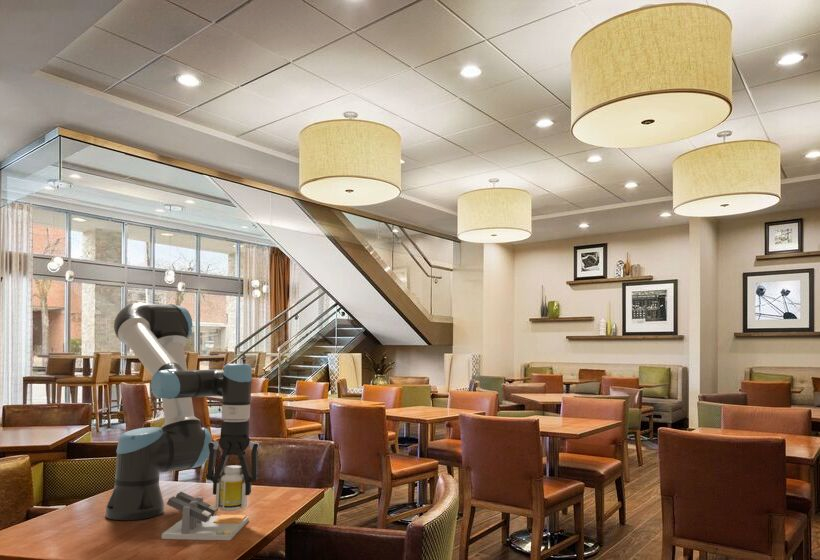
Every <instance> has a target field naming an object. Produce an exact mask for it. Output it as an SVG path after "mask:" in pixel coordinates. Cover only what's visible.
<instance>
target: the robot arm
mask: <svg viewBox="0 0 820 560" xmlns="http://www.w3.org/2000/svg"><path fill="white" fill-rule="evenodd" d="M193 327H194V326H193V319H192V315H191V313H190V311H189V310H188V309H187V308H186V307H184V306H181V305H176V304H162V303H161V304H160V303H150V302H149V303H148V302H147V303H146V302H133V303H130V304H128V305H126V306H124V307H123V308H122V309H121V310H120V311H119V312H118V313H117V315H116V316H115V319H114V322H113V330H114V334H115V336H116V337H117V338H118V340H119V342H121V343H122V344H123V345H125V346H128V347H129V348H130V350H131V351H132V352H133V354H134V355H135V357H136V358H137V359H138V360H139V362H141V364H142V366H143V367H144V368H145V369H146V371H148V373H149V374H150V376H151V380H150V389H151V393H152V395H153V397H155V398H157V399H161V401H162V409H163V410H162V411H163V415H164V416H163V417H164V423H163V424H162V426H160V427H158V426H150V427H140V428H135V429H131V430H128V431H125V432H123V433H122V434H120V436H118V437H119V438H118V439H117V440H118V442H117V448H116V450H115V451H116V460H115V474H114V475H115V476H114V487H113V490H112V492H111V494H110V497H109V500H108V502H107V505H106V506H105V517H106V518H107V519H110V520H115V521H137V520H143V519H150V518H155V517H157V516H160V515H162V514H163V513H164V509H165V502H164V498H163V495H162V491H161V487H160V476H161V475H160V474H161V473H166V472H168V473H169V472H174V471H182V470H191V469H193V468H199V467H202V466H203V465H204V464H205V463H206V462H207V460H208V463H207V470H206V480H207V481H211V482H212V483H213V484H212V494H213V495H215V506H216V507H218V509H220V508H219V504H220V484H221V477H222V476H223V473H224V467H226V464H227V462H228V458H229V457H230V456H237V458H238V460H239V463H240V466H241V467H242V475H243V476H244V483H243V484H242V503H241V509H240V510H242V509H243V510H244V509H246V508H247V506H248V496H250V495H251V493H252V482H256V481H257V480H258V479H259V477H260V476H259V449H260V446H261V444H260V442H254V441H252V440H251V439H250V436H249V435H250V421H249V420H250V418H251V416H250V415H251V400H252V399H251V397H252V384H253V383H252V381H253V376H252V374H253V373H252V371H253V370H252V366H251V365H250V364H249V363H226V364H225V365H224V367H223V369H218V368H213V369H212V368H210V369H188V368H187V367H188V366H187V361H186V354H185V348H184V347H185V345H186V344H187V343H188V340H189V338H190V337H191V335H192V333H193V329H192V328H193ZM205 397H208V398H209V397H220V398H221V397H222V398H221V399H222V400H221V401H222V402H221V419H222V421H221V422H220V423H221V424H220V437H219V439H218V440H217V441H213V439H212V435H211V432H210V431H209V429H208V428H206V427H202V423H201V422H202V421H201V419H200V418H198V417H196V416H195V412H194V411H195V410H194V404H193V399H192V398H205ZM219 446H220V448H221V450H222V454H221V456H220V459H219V463H218V465H217V468H216V461H217V452H218V449H219ZM248 447H249V450H251V455H250V456H251V470H250V467H249V463H248V462H249V461H248V460H247V453H246V449H247V448H248ZM215 469H216V470H215Z"/></svg>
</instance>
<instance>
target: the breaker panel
mask: <svg viewBox="0 0 820 560" xmlns="http://www.w3.org/2000/svg"><path fill="white" fill-rule="evenodd" d="M195 498H196V499H198V500H201V501H203V502H204V497H198V496H197V497H195ZM189 504H191V505H193V506H195V507H198V501H191V502H190V503H189ZM249 519H250V516H247V515H246V514H223V513H222V514H220V515H214V516H211V517H210V519H209V520H208V521H207V522H206V523H205V522H203V521H201V520H199V519H197V518H195V517H193V516H190V507H185V506H184V507H183V512H182V518H181V519H180V520H179V521H177V522H176V523H174V524H173V525H172V526H170V527H169V528H168V529H166V530H165V531H163V533H161V540H192V541H193V540H194V541H195V540H197V541H199V540H200V541H231V540H232V539H233V538H234V537H235V536H236V535H237V533H239V532H240V531H241V529H242V528H243V527H245V526H246V524H247V523H248V522H249Z"/></svg>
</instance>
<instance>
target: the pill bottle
mask: <svg viewBox="0 0 820 560" xmlns="http://www.w3.org/2000/svg"><path fill="white" fill-rule="evenodd" d="M223 473H224V474H222V475H221V478H220V481H221V484H220V504H219V508H218V509H219V510H220V511H225V512H235V511H239V510H242V509H241V503H242V484H243V483H244V482H245V479H244V475H243V471H242V467H241V465H237V464H235V465H225V467H224V470H223Z"/></svg>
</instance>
